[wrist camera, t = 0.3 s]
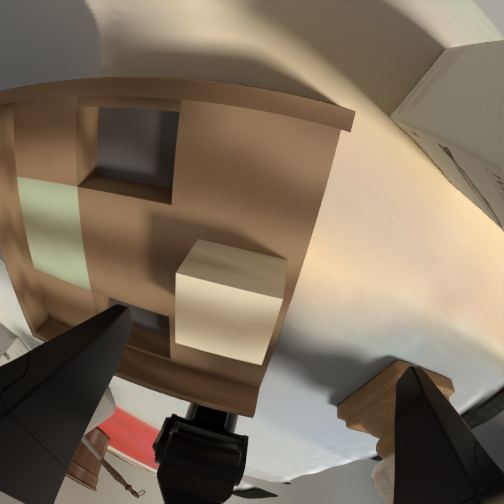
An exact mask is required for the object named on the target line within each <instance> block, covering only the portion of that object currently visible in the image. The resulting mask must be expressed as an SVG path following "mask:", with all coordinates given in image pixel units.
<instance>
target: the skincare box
mask: <svg viewBox="0 0 504 504" xmlns="http://www.w3.org/2000/svg"><path fill="white" fill-rule="evenodd" d="M27 352H30V351H29V350H28V349H27V348H26V347H25V345H24V344H23V343H22V341H21V340H20V339H19V338H18V337H17V338H10V339H9V340H8V341H7V342H6V343H5V344H4V345H3V346H2V348H1V349H0V366H2V365H4V364H6V363H8V362H10V361H12V360H14V359H16V358H18V357H20V356H21V355H23V354H25V353H27Z"/></svg>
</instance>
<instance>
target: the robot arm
mask: <svg viewBox="0 0 504 504" xmlns="http://www.w3.org/2000/svg"><path fill="white" fill-rule="evenodd" d="M131 332H132V318H131V311H130V308H129V307H128V306H125V305H121V304H116V305H114V306H112V307H110V308H108V309H106V310H104V311H102V312H100V313H99V314H97V315H95V316H93V317H91V318H89V319H87V320H86V321H84V322H82V323H80V324H78V325H76V326H74V327H73V328H71V329H69V330H67V331H65V332H63V333H62V334H60V335H58V336H56V337H54V338H52V339H51V340H49V341H47V342H45V343H43V344H41V345H40V346H38V347H36V348H34V349H32V350H31V351H30V352H27V353H25V354H23V355H21V356H20V357H18V358H16V359H14V360H12V361H10V362H8V363H6V364H4V365H2V366H0V504H54V501H55V499H56V496H57V494H58V492H59V489H60V487H61V484H62V482H63V480H64V477H65V475H66V473H67V471H68V469H67V468H69V466H70V463H71V461H72V459H73V457H74V455H75V452H76V450H77V448H78V446H79V444H80V442H81V439H82V437H83V435H84V433H85V431H86V429H87V427H88V425H89V423H90V421H91V419H92V417H93V415H94V413H95V411H96V409H97V407H98V405H99V403H100V401H101V399H102V397H103V395H104V393H105V391H106V389H107V387H108V385H109V383H110V381H111V379H112V377H113V376H114V373H115V371H116V369H117V367H118V364H119V362H120V359H121V357H122V354H123V352H124V349H125V347H126V344H127V342H128V339H129V337H130V334H131ZM237 419H238V415H237V414H233V413H229V412H225V411H221V410H217V409H213V408H209V407H205V406H202V405H198V404H195V403H190V405H189V408H188V411H187V414H186V417H185V418H182V417H179V416H177V415H176V414H172V416H171V417H166V419H165V421H164V424H163V426H162V429H161V431H160V433H159V434H158V436H157V438H156V440H155V442H154V444H153V447H152V448H153V450H154V451H155V456H156V457H155V462H156V463H158V464H160V465H159V468H158V471H157V479H158V484H159V487H160V490H161V494H162V497H163V501H164V504H223V503H224V502H225V501H226V500H227V499H229V498H230V497H231V495H232V492H233V488H234V486H238V485H239V483H240V481H241V479H242V477H243V473H244V470H245V465H246V456H247V447H248V437H249V436H246V435H243V436H242V435H239V434H235V433H234V431H235V427H236V423H237ZM394 444H395V471H394V499H393V504H504V472H503V471H502V470H501V469H500V468H499V466H498V465H497V464H496V463H495V462H494V460H493V459H492V458H491V457H490V456H489V454H488V453H487V451H486V450H485V449H484V447H483V446H482V445H481V443H480V442H479V441H478V439H476V437H475V435H474V434H473V432H472V431H471V430H470V428H469V427H468V426H467V424H466V423H465V422H464V420H463V419H462V418H461V416H460V415H459V414H458V412H457V411H456V410H455V409H454V407H453V406H452V405H451V403H450V402H449V401H448V400H447V398H446V397H445V396H444V394H443V393H442V392H441V391H440V389H439V388H438V387H437V386H436V384H435V383H434V382H433V381H432V379H431V378H430V377H429V376H428V374H427V373H426V372H425V371H424V370H423V368H422V367H420V366H414V365H410V366H409V367H407V369H406V370H405V371H404V373H403V374H402V375H401V377H400V378H399V379H398V381H397V383H396V397H395V417H394Z"/></svg>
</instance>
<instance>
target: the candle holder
mask: <svg viewBox="0 0 504 504" xmlns="http://www.w3.org/2000/svg"><path fill="white" fill-rule="evenodd" d="M410 365H413V364H410V363H407V362H404V361H401V360H396V361H394V362H393V363H391V364H390V365H389V366H387V367H386V368H385V369H384V370H382V371H381V372H380V373H379V374H378V375H376V376H375V377H374V378H373V379H371V380H370V381H369V382H368V383H366V384H365V385H364V386H362V387H361V388H360V389H359V390H357V391H356V392H355V393H353V394H352V395H351V396H349V397H348V398H346V399H345V400H344V401H343V402H341V403H340V404H339V405H338V406H337V417H338V418H339V419H341V420H344V421H346V426H347V427H348V428H349V429H353V430H356V431H360V432H364V433H368V434H371V435H372V436H374V437H377V438H379V439H380V440H379V441H378V443H377V445H376V451H377V454H378V455H379V456H380V457H382V458H383V460H382V461H381V462H380V463H378V465H377V466H376V467H375V468H374V470H373V472H372V484H373V486H374V488H375V489H376V491H377V492H378V494H379V495H380V496H381V497H382V498H383V500H384V501H385V502H386V504H393V499H394V471H395V444H394V417H395V397H396V383H397V381H398V379H399V378H400V377H401V375H402V374H403V373H404V371H405V370H406V369H407V367H409V366H410ZM414 366H415V365H414ZM423 370H424V371H425V372H426V373H427V374H428V376H429V377H430V378H431V379H432V381H433V382H434V383H435V384H436V386H437V387H438V388H439V389H440V391H441V392H442V393H443V394H444V396H445V397H446V398H447V400H448V401H449V397H450V396H451V395H452V394H453V393H454V392H455V390H454V387H453V383H452V380H451V379H449V378H446V377H444V376H441V375H439V374H436V373H433V372H431V371H428V370H426V369H423ZM449 402H450V401H449Z"/></svg>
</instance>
